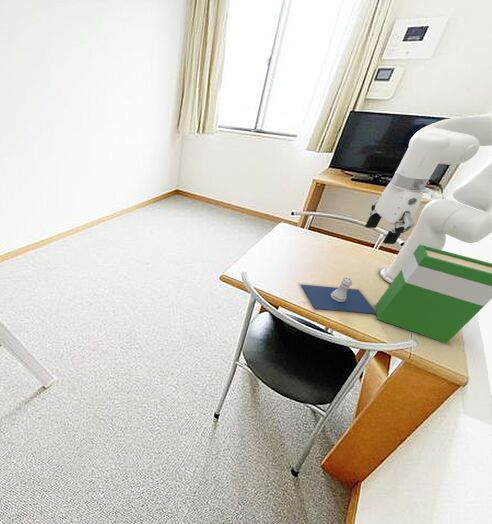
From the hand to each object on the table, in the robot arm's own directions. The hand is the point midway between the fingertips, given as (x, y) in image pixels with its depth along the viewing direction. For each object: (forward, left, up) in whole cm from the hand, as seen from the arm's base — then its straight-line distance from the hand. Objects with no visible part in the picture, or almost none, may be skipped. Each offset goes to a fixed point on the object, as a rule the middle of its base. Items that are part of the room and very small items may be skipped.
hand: (378, 235), depth 93 cm
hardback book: (-12, +14, -23) cm, 29 cm away
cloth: (+6, +5, -23) cm, 24 cm away
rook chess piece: (+6, +5, -23) cm, 24 cm away
